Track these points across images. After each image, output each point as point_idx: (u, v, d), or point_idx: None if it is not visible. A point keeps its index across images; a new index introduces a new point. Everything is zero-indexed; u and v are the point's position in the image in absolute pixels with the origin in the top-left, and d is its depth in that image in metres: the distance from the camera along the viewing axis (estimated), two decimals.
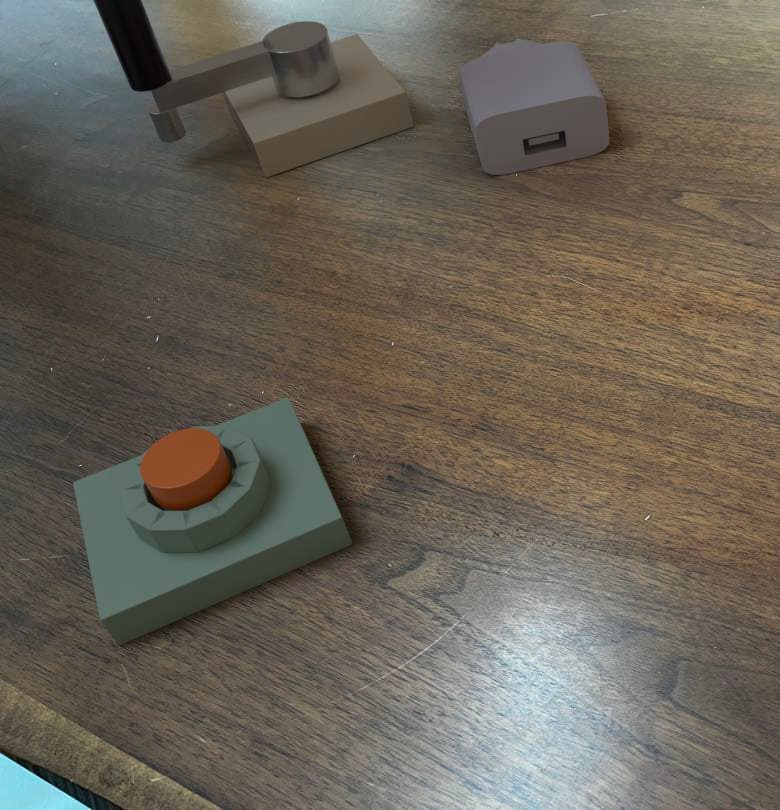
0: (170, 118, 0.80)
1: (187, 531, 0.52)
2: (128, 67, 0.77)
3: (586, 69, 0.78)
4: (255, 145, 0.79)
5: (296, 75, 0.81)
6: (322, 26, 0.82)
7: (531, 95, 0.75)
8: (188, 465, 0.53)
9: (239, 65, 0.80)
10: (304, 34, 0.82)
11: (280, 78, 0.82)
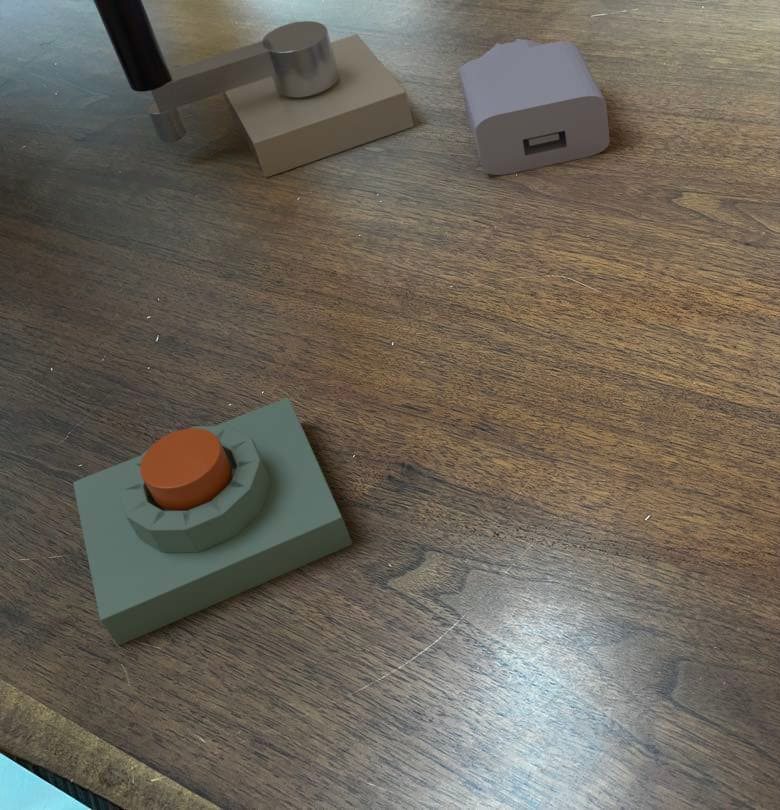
0: (170, 118, 0.80)
1: (187, 531, 0.52)
2: (128, 67, 0.77)
3: (586, 69, 0.78)
4: (255, 145, 0.79)
5: (296, 75, 0.81)
6: (322, 26, 0.82)
7: (531, 95, 0.75)
8: (188, 465, 0.53)
9: (239, 65, 0.80)
10: (304, 34, 0.82)
11: (280, 78, 0.82)
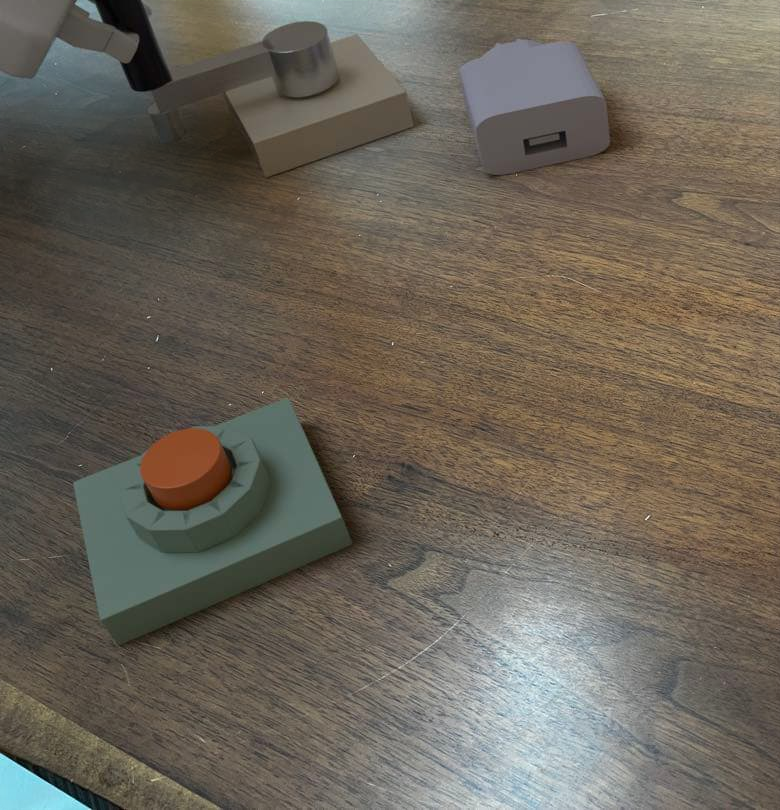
0: (170, 118, 0.80)
1: (187, 531, 0.52)
2: (128, 67, 0.77)
3: (587, 69, 0.78)
4: (255, 145, 0.79)
5: (296, 75, 0.81)
6: (322, 26, 0.82)
7: (532, 95, 0.75)
8: (188, 465, 0.53)
9: (239, 65, 0.80)
10: (304, 34, 0.82)
11: (280, 78, 0.82)
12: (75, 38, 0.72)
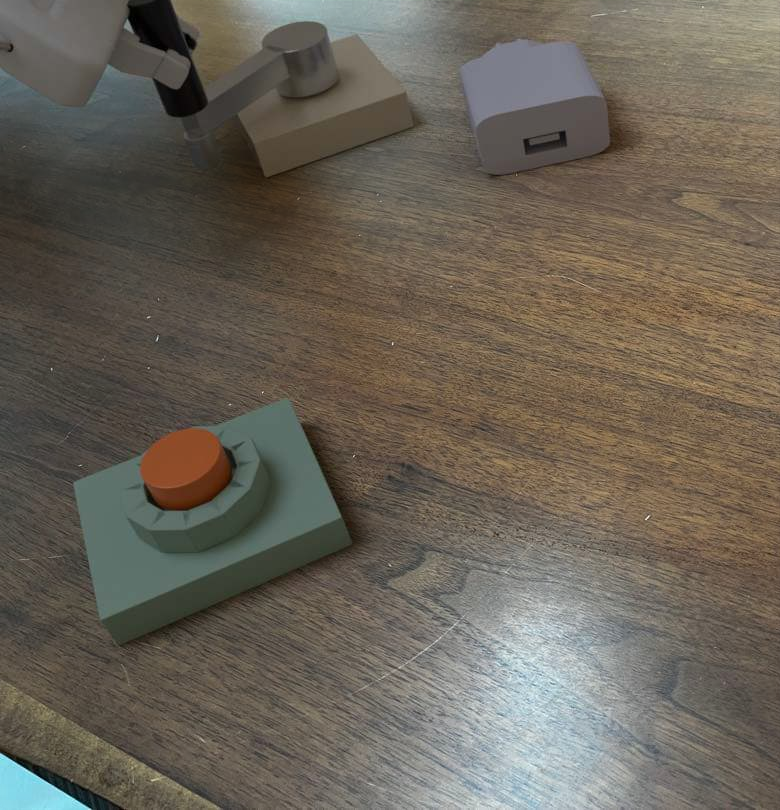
0: (212, 140, 0.77)
1: (187, 531, 0.52)
2: (175, 91, 0.73)
3: (587, 69, 0.78)
4: (255, 145, 0.79)
5: (314, 70, 0.81)
6: (313, 22, 0.83)
7: (532, 95, 0.75)
8: (188, 465, 0.53)
9: (262, 72, 0.79)
10: (303, 32, 0.82)
11: (296, 79, 0.81)
12: (125, 64, 0.69)
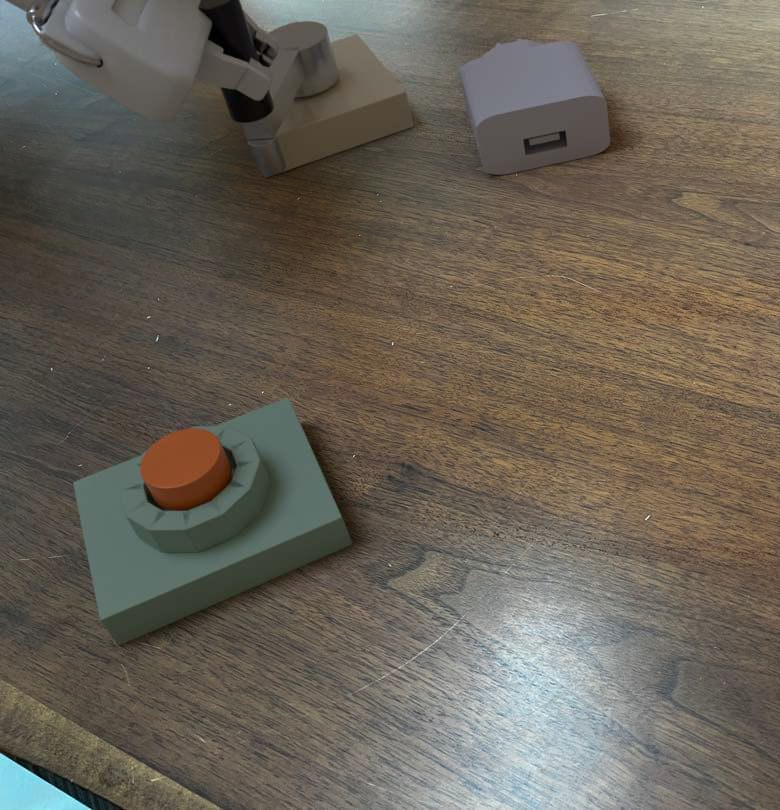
0: (278, 142, 0.76)
1: (187, 531, 0.52)
2: None
3: (587, 69, 0.78)
4: None
5: (326, 63, 0.82)
6: (300, 22, 0.83)
7: (532, 95, 0.75)
8: (188, 465, 0.53)
9: (292, 70, 0.79)
10: (299, 31, 0.82)
11: (312, 75, 0.81)
12: (208, 76, 0.68)
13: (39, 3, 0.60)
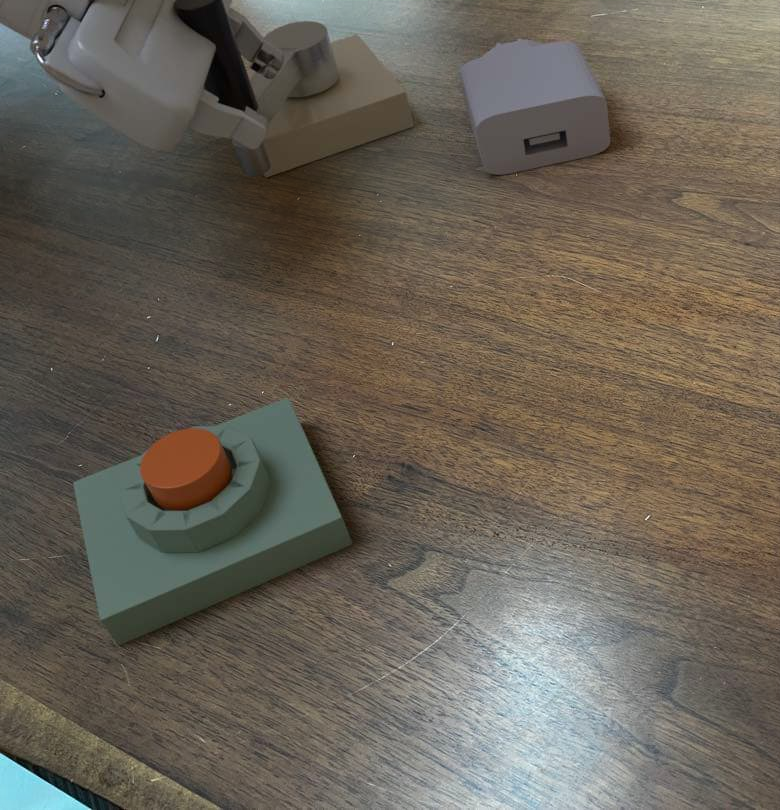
0: (263, 144, 0.76)
1: (187, 531, 0.52)
2: (235, 94, 0.72)
3: (587, 69, 0.78)
4: None
5: (324, 65, 0.82)
6: (303, 22, 0.83)
7: (532, 95, 0.75)
8: (188, 465, 0.53)
9: (285, 71, 0.79)
10: (300, 31, 0.82)
11: (308, 76, 0.81)
12: (203, 125, 0.67)
13: (43, 34, 0.61)
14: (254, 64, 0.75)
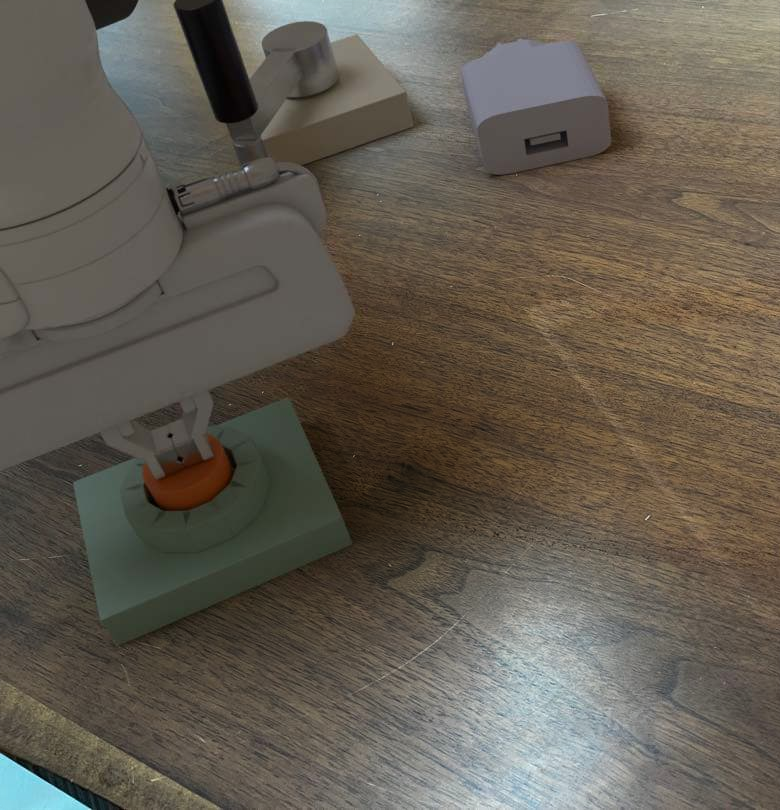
0: (263, 144, 0.76)
1: (187, 531, 0.52)
2: (235, 94, 0.72)
3: (588, 69, 0.78)
4: None
5: (324, 65, 0.82)
6: (303, 22, 0.83)
7: (533, 95, 0.75)
8: (190, 469, 0.53)
9: (285, 71, 0.79)
10: (300, 31, 0.82)
11: (308, 76, 0.81)
12: (209, 393, 0.51)
13: None
14: None
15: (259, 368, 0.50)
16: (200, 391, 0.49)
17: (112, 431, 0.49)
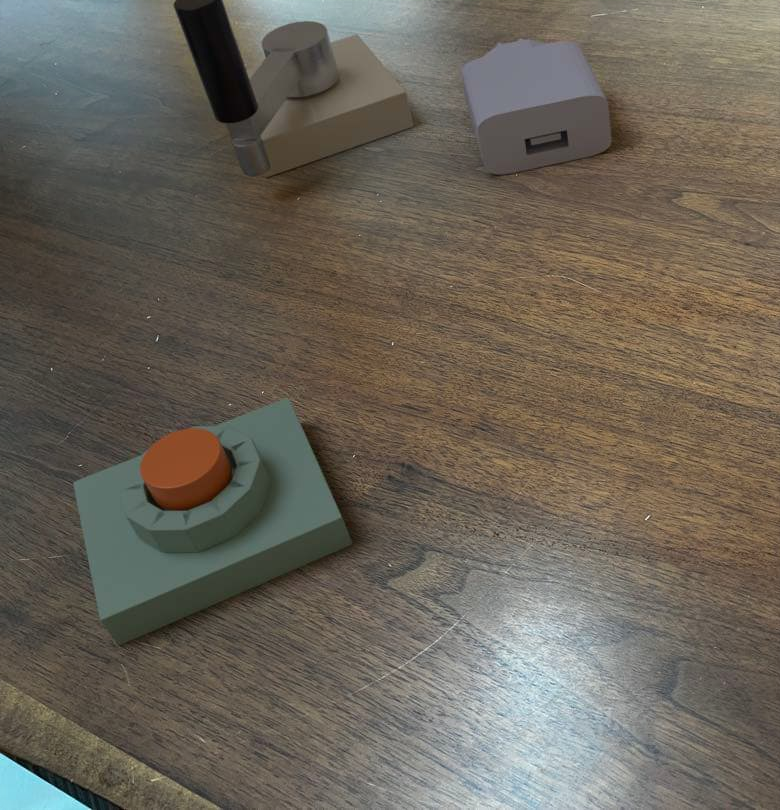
0: (263, 144, 0.76)
1: (187, 531, 0.52)
2: (235, 94, 0.72)
3: (588, 69, 0.78)
4: None
5: (324, 65, 0.82)
6: (303, 22, 0.83)
7: (533, 95, 0.75)
8: (188, 465, 0.53)
9: (285, 71, 0.79)
10: (300, 31, 0.82)
11: (308, 76, 0.81)
12: None
13: None
14: None
15: None
16: None
17: None
